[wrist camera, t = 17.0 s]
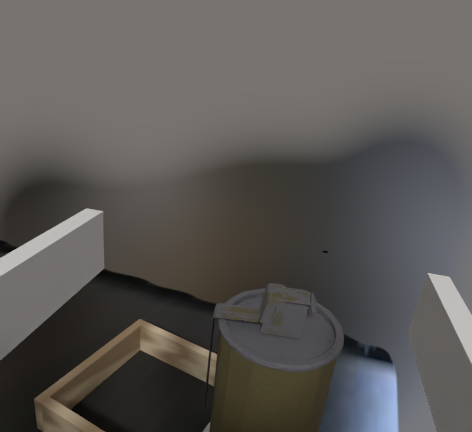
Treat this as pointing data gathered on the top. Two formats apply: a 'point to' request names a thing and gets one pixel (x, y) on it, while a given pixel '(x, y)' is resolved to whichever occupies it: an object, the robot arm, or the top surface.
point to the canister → (272, 361)
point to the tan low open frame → (107, 362)
